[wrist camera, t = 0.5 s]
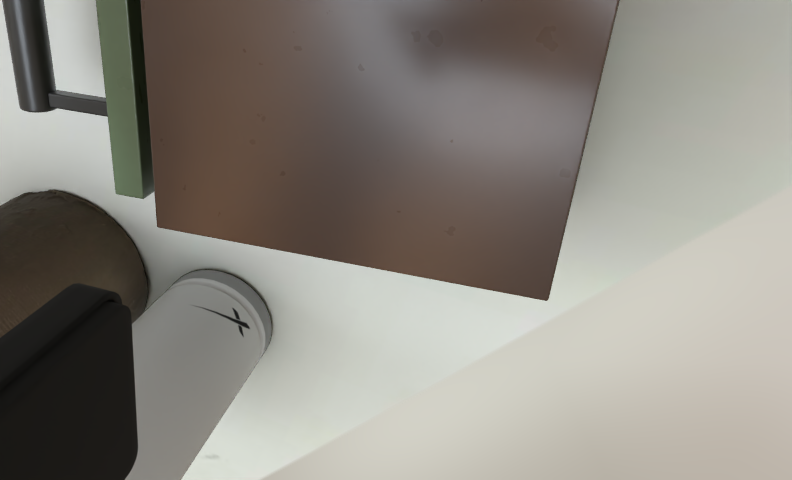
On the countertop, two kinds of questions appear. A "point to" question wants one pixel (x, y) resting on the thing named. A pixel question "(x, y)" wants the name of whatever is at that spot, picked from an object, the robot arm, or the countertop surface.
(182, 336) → the travel mug
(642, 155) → the countertop surface
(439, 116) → the cabinet
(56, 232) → the pillar candle
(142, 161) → the bin drawer
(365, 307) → the countertop surface
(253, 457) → the countertop surface
